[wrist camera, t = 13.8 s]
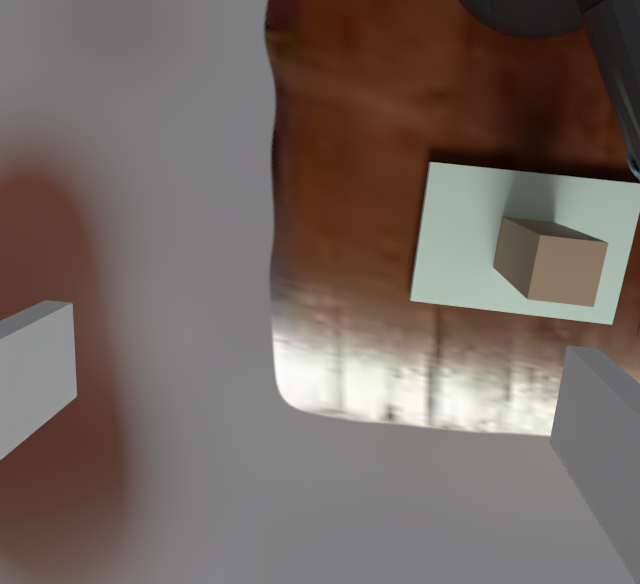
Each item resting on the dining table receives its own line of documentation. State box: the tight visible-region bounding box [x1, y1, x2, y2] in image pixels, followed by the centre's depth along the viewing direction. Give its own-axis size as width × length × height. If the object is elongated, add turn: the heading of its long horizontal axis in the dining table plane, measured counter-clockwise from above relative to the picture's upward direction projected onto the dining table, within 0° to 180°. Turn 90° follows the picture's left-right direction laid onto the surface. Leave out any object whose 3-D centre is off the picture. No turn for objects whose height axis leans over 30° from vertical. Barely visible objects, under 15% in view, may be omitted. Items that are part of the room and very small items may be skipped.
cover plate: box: [409, 162, 640, 325], centre depth 39 cm, size 11×16×12 cm
